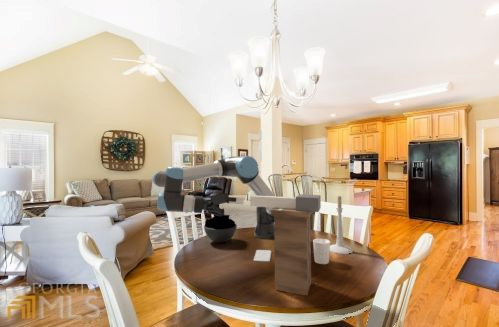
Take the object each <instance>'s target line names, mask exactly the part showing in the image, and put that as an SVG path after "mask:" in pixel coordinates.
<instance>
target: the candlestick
mask: <svg viewBox="0 0 499 327" xmlns="http://www.w3.org/2000/svg"><path fill="white" fill-rule="evenodd" d="M343 210H344V208H342V196H341V195H337V207H336V212H337V226H336V227H337V228H336V243H335V244H330V253H332V252H333V253H332V254H336V253H337V254H338V255H350V254H349V253H351V254H353V252H354V251H353V249H352V248H351V247H349V246H348V245H347V244H346V245H345V244H344V235H343V234H344V233H343V232H344V231H343V217H342V212H343ZM337 254H336V255H337Z"/></svg>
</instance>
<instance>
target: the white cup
mask: <svg viewBox="0 0 499 327" xmlns="http://www.w3.org/2000/svg"><path fill="white" fill-rule="evenodd" d="M312 243H313V244H312V246H313V257H314V258H313V259H314V263H316V264H320V265H327V264H329V263H330V253H331V252H330V245H331V241H330V240H329V239H327V238H326V239H325V238H315V239H313V240H312Z"/></svg>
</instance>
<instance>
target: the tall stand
mask: <svg viewBox="0 0 499 327" xmlns="http://www.w3.org/2000/svg"><path fill="white" fill-rule="evenodd" d="M313 213H314V212H309V211H296V209H287V208H273V209H272V210H271V215H274V235H275V237H274V289H275V291H281V292H286V293H291V294H297V295H303V296H308V295H309V291H310V288H311V284H312V257H311V256H312V254H311V253H312V251H311V250H312V249H311V248H312V244H311V243H312V242H311V239H312V238H311V237H312V236H311V234H312V233H311V216H312V214H313Z"/></svg>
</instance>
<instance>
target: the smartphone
mask: <svg viewBox="0 0 499 327" xmlns="http://www.w3.org/2000/svg"><path fill="white" fill-rule="evenodd" d="M272 253H273V252H272V250H270V249H256V250H255V253H254V256H253V260H252V261H253V262H259V263H260V262H263V263H270V262H271V257H272Z"/></svg>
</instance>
